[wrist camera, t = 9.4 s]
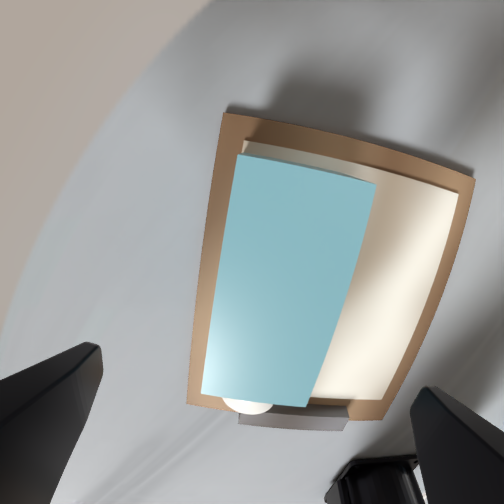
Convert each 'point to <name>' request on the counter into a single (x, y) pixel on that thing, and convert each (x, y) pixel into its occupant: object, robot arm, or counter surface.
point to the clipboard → (365, 274)
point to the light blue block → (281, 280)
